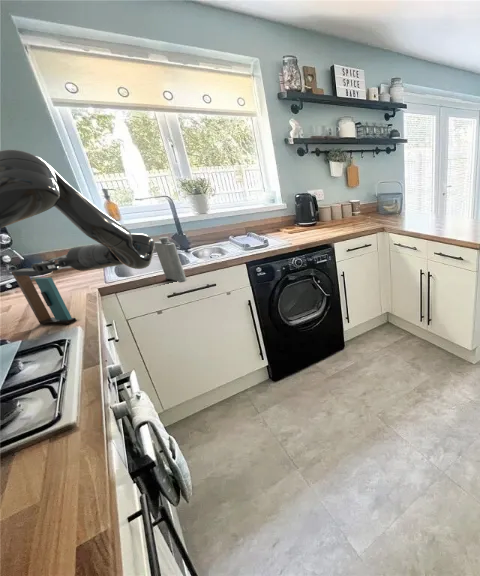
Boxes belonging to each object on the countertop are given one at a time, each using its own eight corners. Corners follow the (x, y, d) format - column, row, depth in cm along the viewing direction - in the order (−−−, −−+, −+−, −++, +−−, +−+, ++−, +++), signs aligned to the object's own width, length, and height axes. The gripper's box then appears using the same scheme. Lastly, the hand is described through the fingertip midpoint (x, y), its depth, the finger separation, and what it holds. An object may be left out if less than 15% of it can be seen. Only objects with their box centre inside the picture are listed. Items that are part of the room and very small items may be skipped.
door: (65, 321, 104) (43, 279, 99) (52, 321, 105) (30, 280, 100) (75, 316, 107) (55, 276, 102) (62, 316, 108) (42, 276, 103)
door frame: (67, 325, 105) (39, 270, 98) (40, 324, 107) (10, 271, 100) (76, 320, 108) (50, 267, 101) (50, 320, 110) (22, 268, 103)
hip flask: (164, 278, 148) (150, 237, 141) (173, 275, 151) (160, 235, 144) (180, 282, 139) (166, 239, 132) (190, 279, 142) (176, 237, 135)
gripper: (107, 239, 100) (66, 245, 103) (61, 252, 87) (15, 258, 90) (118, 261, 103) (77, 267, 106) (75, 276, 90) (30, 282, 93)
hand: (49, 263), depth 98 cm, fingers open, 8 cm apart
